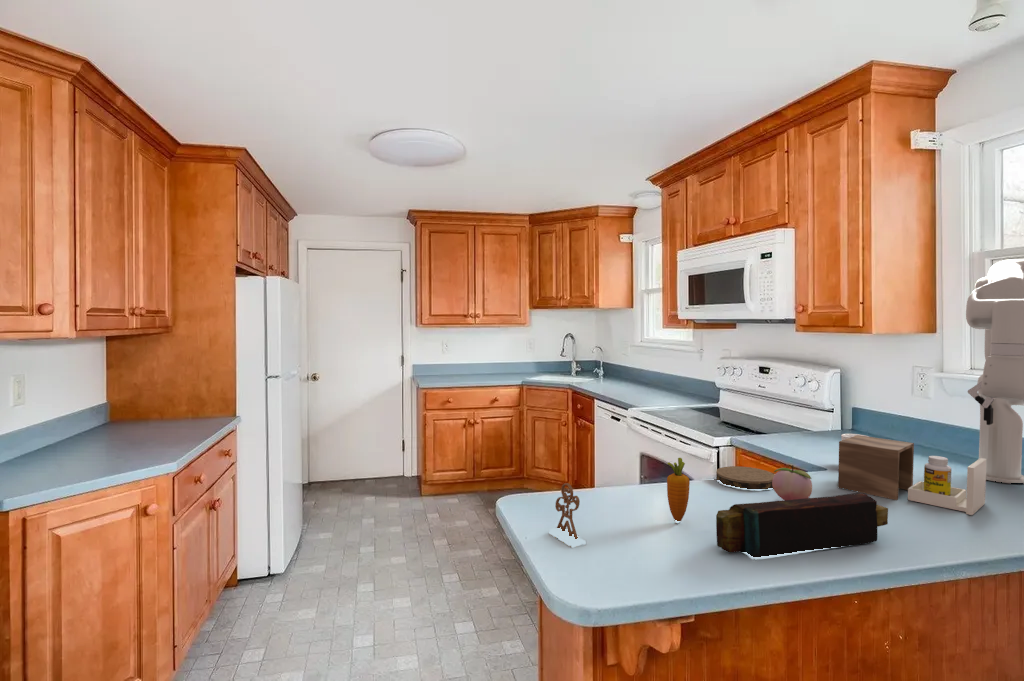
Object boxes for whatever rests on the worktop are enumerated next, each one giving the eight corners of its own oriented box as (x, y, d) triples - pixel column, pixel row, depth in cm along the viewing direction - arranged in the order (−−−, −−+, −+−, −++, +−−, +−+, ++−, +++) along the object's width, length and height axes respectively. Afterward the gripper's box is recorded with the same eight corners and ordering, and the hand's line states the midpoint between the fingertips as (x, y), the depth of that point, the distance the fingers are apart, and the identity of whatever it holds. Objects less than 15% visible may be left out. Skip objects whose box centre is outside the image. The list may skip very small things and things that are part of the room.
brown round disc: (759, 496, 150) (760, 485, 150) (705, 483, 162) (705, 472, 162) (785, 484, 160) (786, 474, 160) (732, 473, 172) (733, 463, 172)
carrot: (677, 528, 125) (678, 462, 125) (661, 521, 130) (662, 457, 129) (693, 525, 128) (694, 460, 127) (677, 518, 132) (678, 455, 131)
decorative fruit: (817, 504, 142) (818, 465, 142) (807, 512, 136) (808, 471, 136) (778, 496, 148) (778, 459, 148) (767, 504, 142) (768, 465, 142)
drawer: (921, 490, 153) (922, 449, 152) (985, 503, 142) (986, 458, 142) (905, 501, 144) (906, 457, 143) (972, 515, 134) (973, 468, 133)
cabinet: (856, 478, 165) (857, 435, 164) (912, 489, 154) (913, 443, 154) (838, 487, 156) (839, 441, 156) (896, 500, 145) (898, 450, 145)
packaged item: (854, 526, 127) (855, 483, 127) (894, 543, 118) (895, 496, 117) (704, 545, 117) (704, 497, 117) (734, 564, 108) (735, 513, 107)
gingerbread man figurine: (548, 533, 122) (548, 479, 122) (562, 530, 124) (562, 477, 124) (571, 548, 115) (572, 490, 114) (587, 544, 117) (587, 487, 116)
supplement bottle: (919, 495, 145) (920, 456, 145) (928, 492, 148) (930, 453, 148) (945, 501, 141) (946, 461, 140) (954, 497, 144) (955, 458, 143)
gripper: (1064, 352, 128) (1061, 429, 129) (968, 349, 142) (966, 419, 142) (1059, 353, 124) (1056, 434, 124) (961, 350, 137) (959, 423, 138)
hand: (1008, 425), depth 133 cm, fingers open, 6 cm apart
